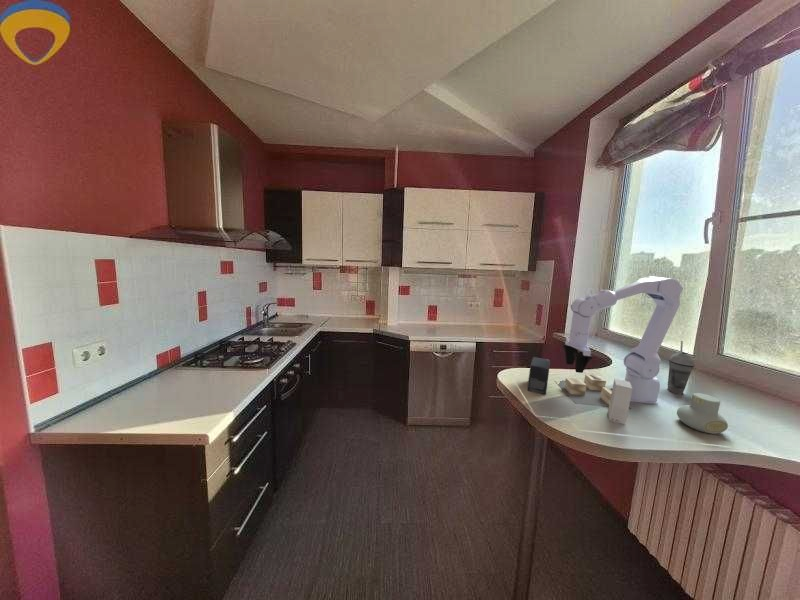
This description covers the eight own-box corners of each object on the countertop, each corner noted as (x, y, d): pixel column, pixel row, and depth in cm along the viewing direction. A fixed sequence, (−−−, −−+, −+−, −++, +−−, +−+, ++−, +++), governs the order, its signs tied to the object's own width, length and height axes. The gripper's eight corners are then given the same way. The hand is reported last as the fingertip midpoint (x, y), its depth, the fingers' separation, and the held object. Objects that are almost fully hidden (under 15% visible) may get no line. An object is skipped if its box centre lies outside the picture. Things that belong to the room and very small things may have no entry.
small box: (529, 381, 118) (532, 356, 116) (547, 385, 115) (551, 359, 113) (526, 391, 109) (529, 364, 107) (546, 396, 106) (550, 368, 104)
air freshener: (702, 420, 95) (709, 391, 93) (731, 436, 87) (739, 405, 85) (669, 419, 95) (675, 390, 93) (695, 435, 86) (702, 403, 85)
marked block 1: (597, 385, 116) (598, 375, 116) (604, 391, 111) (606, 380, 111) (583, 383, 117) (585, 373, 116) (590, 389, 112) (592, 379, 111)
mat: (600, 384, 118) (600, 383, 118) (631, 410, 99) (631, 408, 99) (552, 380, 120) (552, 379, 119) (574, 404, 101) (574, 403, 101)
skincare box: (625, 425, 89) (633, 388, 87) (608, 421, 92) (615, 384, 90) (623, 416, 95) (630, 381, 92) (607, 412, 97) (613, 377, 95)
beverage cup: (686, 397, 111) (698, 346, 107) (661, 389, 116) (671, 340, 113) (689, 392, 116) (700, 342, 112) (664, 385, 121) (674, 337, 117)
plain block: (578, 389, 112) (579, 379, 111) (584, 395, 107) (586, 385, 106) (564, 387, 112) (565, 377, 112) (570, 393, 108) (571, 383, 107)
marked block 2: (615, 398, 106) (617, 387, 105) (624, 406, 101) (626, 394, 100) (600, 397, 106) (602, 386, 105) (608, 404, 101) (610, 393, 100)
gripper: (559, 326, 114) (554, 359, 116) (577, 336, 100) (571, 375, 102) (578, 327, 113) (573, 361, 115) (599, 338, 99) (593, 377, 101)
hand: (574, 368), depth 109 cm, fingers open, 7 cm apart
